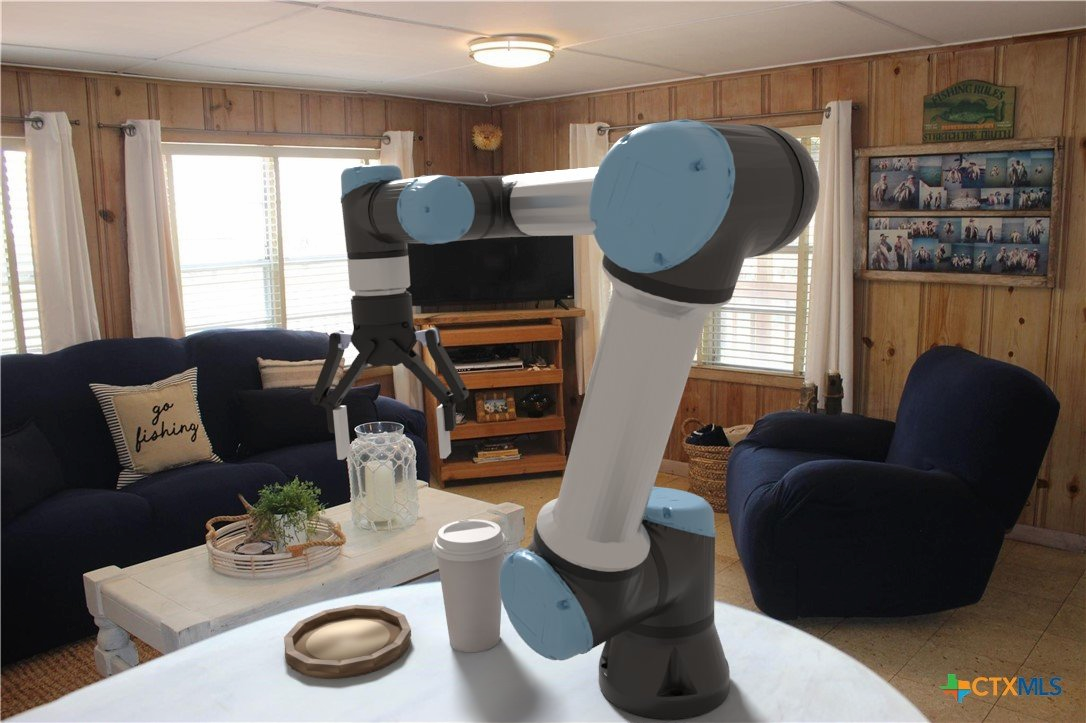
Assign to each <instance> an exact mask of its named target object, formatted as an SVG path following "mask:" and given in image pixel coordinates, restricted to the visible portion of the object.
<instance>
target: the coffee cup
mask: <svg viewBox="0 0 1086 723" xmlns="http://www.w3.org/2000/svg"><path fill="white" fill-rule="evenodd" d="M508 545H509V543H508V540H507V537H506V535H505V534H504V532H502V529H501V526H500V525H499V524H498V523H496V522H494V521H490V520H487V519H480V518H479V519H474V518H470V519H462V520H461V519H460V520H457V521H456V520H455V521H452V522H449V523H447V524H445V525H443V526H442V527H440V528H439V530H438V531H437V536H435V539H434V541H433V544H432V552H433V554H434V555H435V556H436V558H437V565H438V571H439V578H440V585H441V590H442V598H443V605H444V606H443V607H444V610H445V618H446V626H447V631H448V632H447V633H448V639H449V644H450V646H451V647H452V648H453V649H455V650H456V651H459V652H464V653H479V652H480V653H481V652H485V651H488V650H490V649H493V648H494V647H496V646H498V644H499V643H500V639H501V624H502V623H501V621H502V620H501V619H502V617H501V615H502V603H503V602H502V599H501V594H500V588H499V573H500V569H501V566H502V563H503V562H504V560H505V559H504V558H505V551H506V550H507V549H508Z"/></svg>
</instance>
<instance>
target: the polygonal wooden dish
mask: <svg viewBox="0 0 1086 723" xmlns="http://www.w3.org/2000/svg"><path fill="white" fill-rule="evenodd" d="M411 637H412V628H411V626H410V624H409V622H408V619H407V617H406V615H405V614H403V613H401V612H399V611H396V610H394V609H392V608H389V607H387V606H383V605H370V604H369V605H368V604H367V605H366V604H352V605H346V606H342V607H341V606H340V607H336V608H334V607H333V608H330V609H324V610H322V611H319V612H317V613H315V614H313V615H311V616H309V617H306V618H304V619H302V620H300V621H297V623H296V624H295V625H294V626H293V627H291V629H290V630H289V631H288V632H287V633H286V634H285V635H284V636H283V640H284V641H283V642H284V656H285V661H286V663H287V665H288V666H289V667H290V669H292V670H294V671H295V672H297V673H299V674H301V675H304V676H307V677H311V678H318V679H330V680H331V679H345V678H347V679H348V678H353V677H359V676H363V675H367V674H370V673H373V672H376V671H378V670H379V671H380V670H381V669H383V668H385V667H388V666H389V665H391V664H393V663H394V662H396V661H397V660H398V659H400V658H401V657H402V656H403V655H404V654H405V653H406V652H407V651H408V648H409V647H410V644H411Z"/></svg>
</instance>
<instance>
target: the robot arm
mask: <svg viewBox="0 0 1086 723" xmlns="http://www.w3.org/2000/svg"><path fill="white" fill-rule="evenodd" d="M340 181H341V183H340V184H341V196H340V205H341V209H342V220H343V228H344V238H345V239H344V240H345V248H346V255H347V257H346V258H347V271H348V272H347V273H348V286H349V290H350V291H351V292H354V295H352V296H351V298H350V306H351V316H352V325H353V330H352V333H350V332H344V330H342V329H341V330H337V331H335V332H332V333H330V334H329V338H328V339H329V340H328V342H329V343H328V353H327V355H326V358H325V359H324V362H323V365H322V368H321V370H320V373H319V376H318V378H317V381H316V383H315V386H314V389H313V392H312V393H311V396H310V404H312V405H314V406H316V405H318V406H321V407H323V408H324V409H325V411H326V412H325V413H326V421H327V429H328V432H329V434H334V435H335V436H334V437H335V448H336V457H337V460H340V461H341V460H342V461H343V460H345V459H346V458H347V457H348V456H350V455H351V453H352V452H351V445H350V444H351V443H350V432H349V421H348V413H347V412H348V410H347V405H341V404H342V401H343V399H345V397H346V395H347V394H348V392H349V391H350V390H351V388H352V387H353V386H354V384H355V383H356V381H357V380H358V379H359V378H360V376H361V375H362V373H364V372H363V371H364V370H365V369H366V368H367V367H368V366H369V365H370V366H372V367H373V368H374V367H381V366H384V365H385V366H388V367H397V366H399V365H401V364H402V365H403V367H405V368H406V369H407V370H409V371H410V372H411V373H412V374H413V375H414V376H415V377H416V378H417V379H418V380H419V382H421V384H423V386H424V387H425V388H426V389H427V390H428V392H429V393H430V394H432V395H433V396H434V398H436V399H437V401H438V402H439V403H440V405H438V406H437V407H436V422H437V435H438V450H439V459H447V457H449V455H450V454H451V453H452V446H451V434H450V432H454V430H455V429H456V427H457V414H456V413H457V412H456V404H457V403H461V402H464V400H466V399H468V397H469V396H470V391H469V390H468V387H467V385H465V383H464V381H463V379H462V378H461V375H460V374H459V372H458V371H457V370H458V369H456V367H455V364H454V363H453V361H452V359H451V358H450V356H449V354H448V352H447V351H446V349H445V347H444V346H443V344H442V339H441V334H440V329H439V328H438V327H436V326H434V327H430V328H429V329H422V330H418V331H417V329H416V327H415V325H414V313H413V298H412V293H411V292H410V291H407V289H408V288H410V286H411V275H410V260H409V259H410V258H409V250H408V244H426V245H435V244H440V245H441V244H448V243H449V242H457V241H468V240H479V239H496V238H511V237H512V238H519V237H525V238H527V237H536V236H537V237H543V236H544V237H546V236H547V237H551V236H555V237H556V236H594V238H595V241H596V243H597V245H598V248H600V250H601V251H602V253H603V256H602V261H601V268H602V269H601V270H602V271H603V272H604V274H605V275H606V277H607V279H608V280H609V281H610V283H611V284H612V292H611V295H610V299H609V302H608V306H607V311H606V314H605V318H604V322H603V326H602V330H601V334H600V337H599V341H598V346H597V348H596V352H595V356H594V360H593V364H592V368H591V371H590V375H589V379H588V382H587V385H586V386H587V387H586V391H585V394H584V397H583V398H584V399H583V402H582V406H581V410H580V412H579V413H580V414H579V416H578V420H577V425H576V429H575V431H574V432H575V433H574V435H573V440H572V444H571V447H570V451H569V455H568V459H567V462H566V466H565V471H564V473H563V478H562V482H561V484H560V485H561V486H560V489H559V493H558V497H557V498H555V499H554V498H553V499H552V500H550V501H548V502H547V503H545V504H544V505H542V507H541V509H540V510H539V512H538V514H537V517H536V522H535V524H534V528H533V532H532V536H531V540H530V543H529V544H528V546H526V547H524V548H522V547H520V548H518V549H515V550H514V551H513V552H512V553H510V554H509V555H508V556H507V557H505V559H504V560H503V563H502V566H501V569H500V573H499V588H500V594H501V599H502V602H501V603H502V606H503V608H504V611H506V614H507V617H508V620H509V621H510V623H511V625H512V627H513V628H514V630H515V632H516V633H517V634H518V636H519V637H520V638H521V639H522V641H523V642H524V643H525V644H526V645H527V646H528V647H529V648H530V649H531V650H533V651H534V652H535V653H536V654H538V655H539V656H542V657H544V658H545V659H548V660H551V661H566V660H569V659H571V658H574V657H576V656H578V655H584V654H587V653H589V652H591V650H593V649H594V648H596V647H598V646H600V645H602V644H604V645H603V648H602V652H601V654H600V657H599V660H598V685H599V689H600V691H601V693H602V695H604V697H605V698H606V699H607V700H608V701H609V702H611V703H612V704H613V705H614V706H616V707H618V708H619V709H621V710H624V711H626V712H629V713H632V714H635V715H637V716H642V717H646V718H652V719H658V720H659V719H661V720H662V719H663V720H676V719H677V720H678V719H686V718H691V717H697V716H700V715H703V714H706V713H708V712H710V711H712V710H714V709H716V708H717V707H718V706H720V705H721V704H722V703H723V702H724V701H725V700H726V698H727V697H728V695H729V692H730V684H731V683H730V682H731V681H730V679H731V678H730V677H731V676H730V674H731V672H730V666H729V662H728V660H727V658H726V655H725V652H724V648H723V645H722V642H721V639H720V636H719V634H718V630H717V627H716V623H715V596H716V595H715V593H716V592H715V591H716V590H715V588H716V586H715V583H716V582H715V581H716V579H715V578H716V573H715V572H716V567H715V566H716V538H717V531H716V527H715V526H716V524H715V512H714V509H713V507H712V506H711V504H710V502H708V500H706V499H705V498H703V497H702V496H699V495H697V494H696V493H695V494H694V493H692V492H688V491H685V490H682V489H681V490H680V489H675V488H671V487H660V486H654V485H655V482H656V480H657V476H658V473H659V470H660V467H661V463H662V460H663V457H664V454H665V452H666V451H665V450H666V447H667V445H668V441H669V438H670V435H671V432H672V428H673V426H674V422H675V418H676V417H677V412H678V410H679V406H680V405H681V404H680V403H681V402H682V401H681V400H682V397H683V394H684V390H685V387H686V384H687V382H688V381H687V380H688V378H689V375H690V371H691V369H692V366H693V362H694V359H695V355H696V353H697V349H698V346H699V345H700V344H699V343H700V340H701V337H702V333H703V331H704V328H705V325H706V322H707V318H708V316H709V315H708V314H709V313H710V312H712V311H714V310H716V309H719V308H721V307H723V306H725V305H727V304H729V303H730V302H731V300H732V298H733V295H734V293H735V288H736V285H737V283H738V281H739V280H738V279H739V277H740V274H741V270H742V268H743V265H744V262H745V259H749V258H754V257H761V256H767V255H770V254H772V253H775V252H777V251H779V250H782V249H783V248H785V247H787V246H788V245H790V244H791V243H793V242H795V240H797V238H798V237H800V236H801V235H802V233H803V232H804V231H805V230H806V228H807V227H808V225H809V224H810V223H811V221H812V219H813V217H814V215H815V212H816V211H817V207H818V202H819V199H820V178H819V172H818V169H817V167H816V163H815V161H814V159H813V157H812V156H811V154H810V152H809V151H808V149H807V148H806V146H804V145H803V144H802V143H801V141H799V139H798V138H796V137H795V136H793V135H791V134H789V133H788V132H786V131H783V130H782V129H780V128H778V127H774V126H770V125H765V124H753V123H752V124H750V123H749V124H748V123H747V124H742V123H740V124H738V123H729V122H728V123H725V122H724V123H723V122H711V121H710V122H709V121H698V120H692V119H688V118H685V119H675V120H671V121H664V122H653V123H649V124H644V125H642V126H639V127H637V128H635V129H634V130H632V131H630V132H628V133H627V134H626V135H623V136H622V137H620V138H619V139H618V140H617V141H616V142H615V143H614V144H613V145H612V147H611V148H610V149H609V150H608V151H607V153H606V154H605V156H604V157H603V159H602V161H601V162H600V164H599V166H591V167H581V168H572V169H561V170H550V171H541V172H531V173H518V174H509V175H490V176H489V175H487V176H476V175H475V176H451V175H443V174H426V175H420V176H419V177H418V176H417V177H411V178H403V175H402V170H401V168H400V166H398V165H395V164H370V165H369V164H368V165H366V164H364V165H359V166H358V165H354V166H349V167H346V168H344V170H342V172H341V174H340ZM418 341H419V342H421V344H422V346H423V347H425V348H427V350H428V353H429V354H430V357H431V359H432V360H433V363H435V365H436V367H437V369H438V371H439V372H440V375H441V376H442V378H443V380H444V381H445V382H446V384H447V386H448V387H447V386H446V384H444V382H442V380H441V379H440V378H439V377H438V376H437V375H436V374H435V372H434V371H432V369H431V368H430V367H429V366H428V365H427V364H426V363H425V362H424V361H423V360H422V358H421V356H420V355H419V354H418V352H416V351H415V349H414V347H415V345H416V344H417V342H418ZM350 343H351V344H352V346H353V347H354V348H355V349H356V351H357V352H358V354H357V355H356V357H355V358H354V360H353V361H352V363H351V364H350V367H348V370H347V371H346V372H345V373H344V375H343V376H342V378H341V379H340V380H339V382H338V383H337V384H336V386H335V387H334V389H332V390H333V391H332V392H331V393H330V395H329V392H330V390H331V387H332V384H333V382H334V380H335V377H336V374H337V371H338V369H339V366H340V363H341V362H342V359H343V356H344V354H345V350H346V349H348V348H349V346H350Z"/></svg>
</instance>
